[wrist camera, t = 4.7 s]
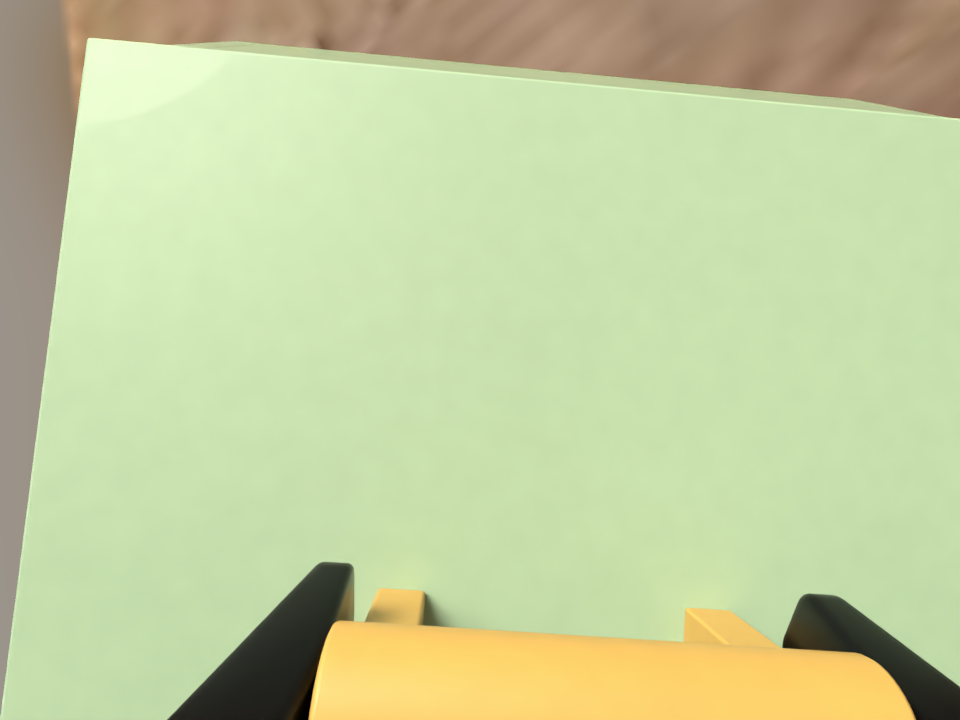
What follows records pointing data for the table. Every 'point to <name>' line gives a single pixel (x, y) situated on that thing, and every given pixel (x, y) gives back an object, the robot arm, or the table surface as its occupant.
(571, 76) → the box
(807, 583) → the lid
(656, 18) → the table surface
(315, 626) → the robot arm
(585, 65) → the table surface
